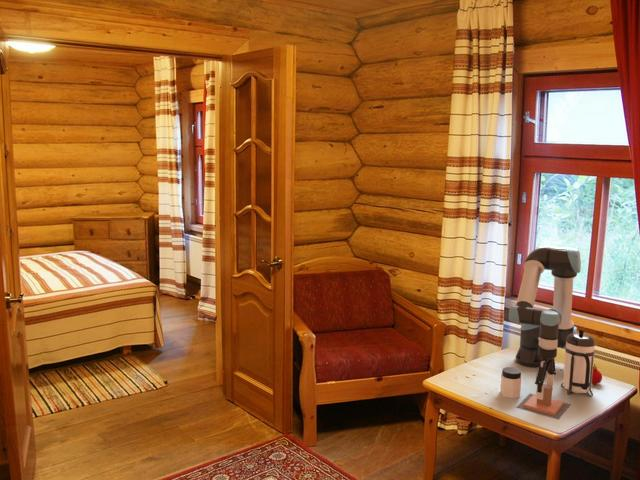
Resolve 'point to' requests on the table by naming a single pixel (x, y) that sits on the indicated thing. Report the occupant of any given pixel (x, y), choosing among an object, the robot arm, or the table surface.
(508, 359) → the table surface
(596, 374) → the christmas ornament
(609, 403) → the table surface
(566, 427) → the table surface
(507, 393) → the jar
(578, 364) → the coffee press
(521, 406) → the mat
